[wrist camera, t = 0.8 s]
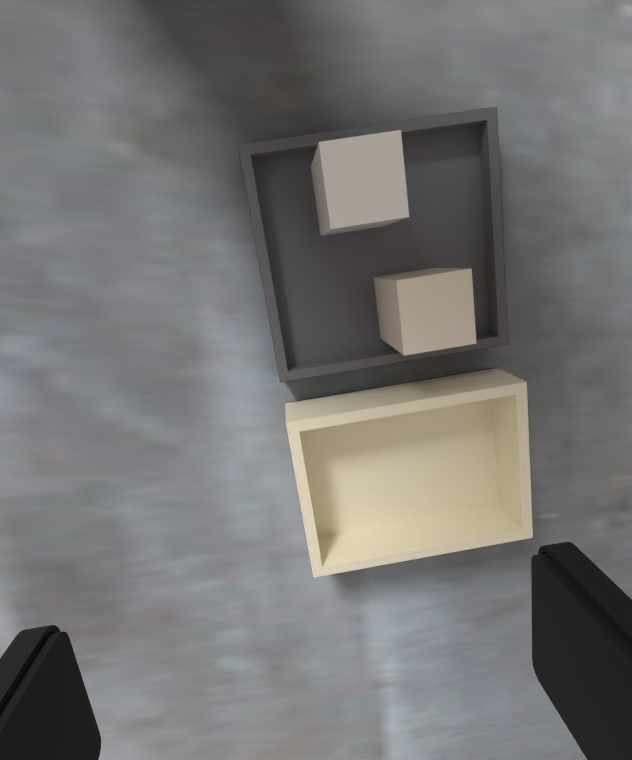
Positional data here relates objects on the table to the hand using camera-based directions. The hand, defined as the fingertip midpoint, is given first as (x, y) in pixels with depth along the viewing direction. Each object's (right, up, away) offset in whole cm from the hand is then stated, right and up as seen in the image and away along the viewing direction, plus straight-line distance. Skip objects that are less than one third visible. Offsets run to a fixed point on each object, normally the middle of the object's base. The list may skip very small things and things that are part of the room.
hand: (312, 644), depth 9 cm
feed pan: (+4, +13, +21) cm, 25 cm away
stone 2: (+6, +10, +21) cm, 24 cm away
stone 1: (+2, +16, +19) cm, 25 cm away
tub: (+6, 0, +24) cm, 25 cm away
